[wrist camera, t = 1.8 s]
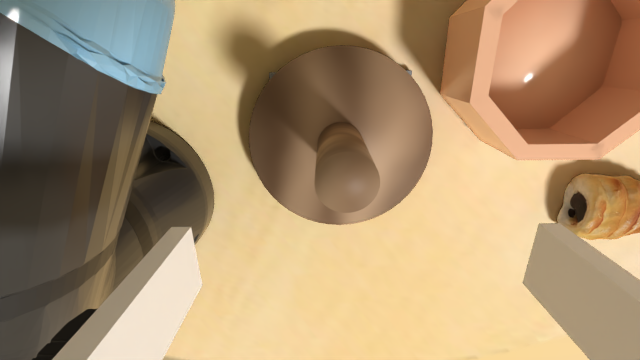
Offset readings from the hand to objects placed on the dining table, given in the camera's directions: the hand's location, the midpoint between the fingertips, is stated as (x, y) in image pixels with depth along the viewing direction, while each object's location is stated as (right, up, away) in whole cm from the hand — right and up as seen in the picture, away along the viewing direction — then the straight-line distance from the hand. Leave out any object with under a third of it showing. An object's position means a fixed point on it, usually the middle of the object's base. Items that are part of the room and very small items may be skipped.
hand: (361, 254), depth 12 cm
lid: (0, +6, +16) cm, 18 cm away
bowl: (+16, +13, +14) cm, 25 cm away
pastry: (+26, +1, +19) cm, 33 cm away
